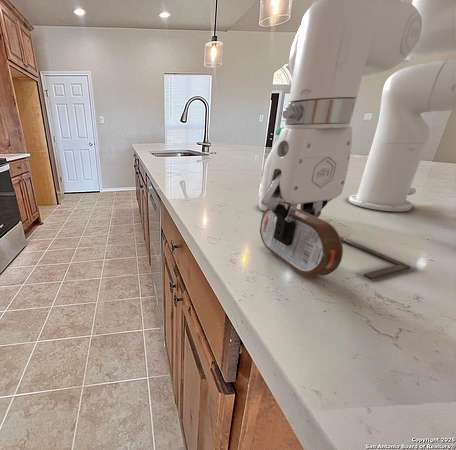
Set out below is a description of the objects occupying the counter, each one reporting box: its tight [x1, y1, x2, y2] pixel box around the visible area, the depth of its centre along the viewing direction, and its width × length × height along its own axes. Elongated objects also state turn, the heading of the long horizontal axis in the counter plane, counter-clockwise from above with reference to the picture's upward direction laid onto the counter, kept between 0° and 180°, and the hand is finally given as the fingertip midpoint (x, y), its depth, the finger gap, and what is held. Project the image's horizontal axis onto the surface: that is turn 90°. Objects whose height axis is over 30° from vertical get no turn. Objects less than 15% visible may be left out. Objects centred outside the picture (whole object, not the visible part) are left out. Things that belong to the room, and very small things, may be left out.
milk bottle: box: [258, 126, 288, 212], centre depth 60 cm, size 8×8×20 cm
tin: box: [259, 205, 344, 277], centre depth 39 cm, size 15×3×8 cm, turn 11°
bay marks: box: [340, 236, 412, 280], centre depth 46 cm, size 8×21×1 cm, turn 17°
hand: (291, 239), depth 39 cm, fingers closed on tin, 3 cm apart
